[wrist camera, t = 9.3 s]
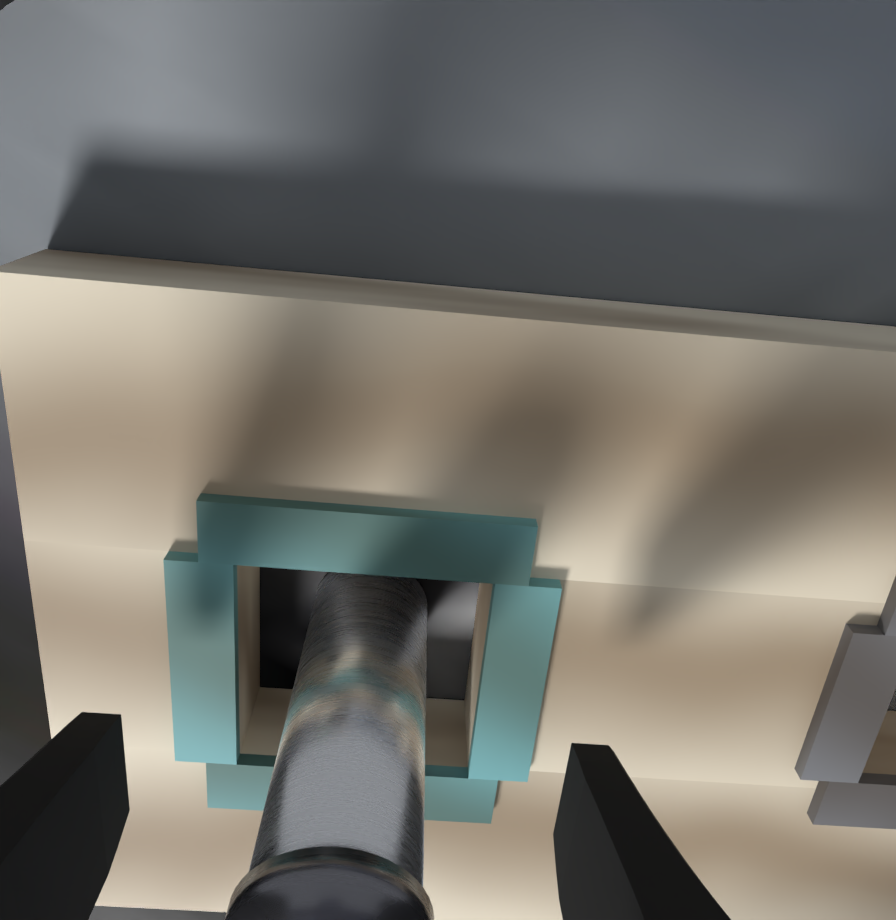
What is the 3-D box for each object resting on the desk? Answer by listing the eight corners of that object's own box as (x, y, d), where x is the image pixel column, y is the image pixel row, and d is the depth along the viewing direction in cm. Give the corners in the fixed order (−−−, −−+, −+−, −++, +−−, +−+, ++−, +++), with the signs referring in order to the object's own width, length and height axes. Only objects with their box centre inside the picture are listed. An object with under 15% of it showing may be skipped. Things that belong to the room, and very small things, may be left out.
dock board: (1045, 881, 21) (1114, 969, 19) (108, 830, 20) (68, 916, 18) (1337, 366, 15) (1482, 409, 13) (45, 249, 14) (-24, 275, 12)
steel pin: (428, 661, 18) (425, 1028, 11) (306, 653, 18) (219, 1019, 11) (439, 556, 17) (443, 888, 10) (309, 546, 16) (215, 876, 9)
